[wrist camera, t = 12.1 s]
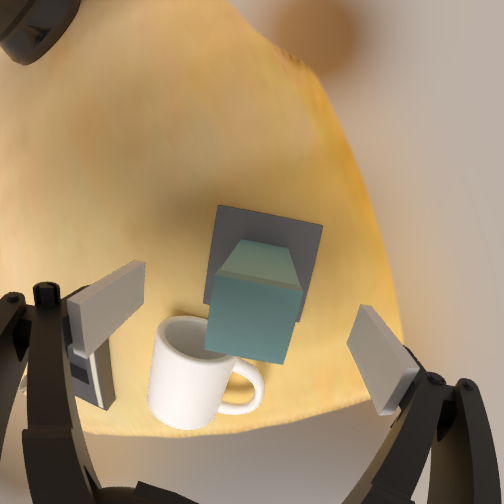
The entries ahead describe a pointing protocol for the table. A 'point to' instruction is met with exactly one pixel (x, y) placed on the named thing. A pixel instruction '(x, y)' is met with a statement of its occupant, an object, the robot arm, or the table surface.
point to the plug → (254, 303)
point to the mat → (263, 231)
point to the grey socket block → (93, 376)
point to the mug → (194, 376)
